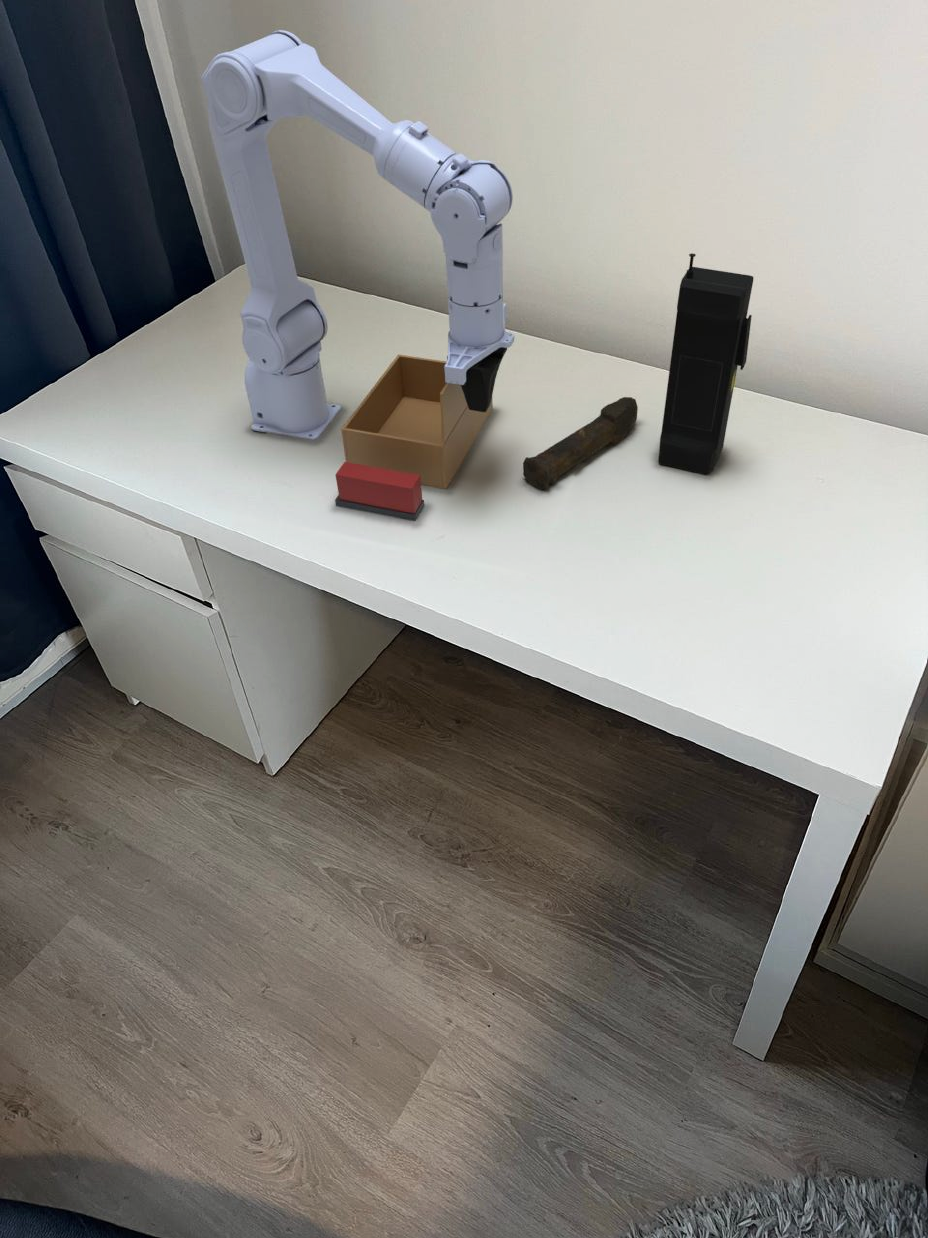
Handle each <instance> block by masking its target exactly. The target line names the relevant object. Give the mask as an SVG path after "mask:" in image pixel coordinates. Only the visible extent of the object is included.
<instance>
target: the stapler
mask: <svg viewBox="0 0 928 1238" xmlns="http://www.w3.org/2000/svg"><path fill="white" fill-rule="evenodd" d="M335 480H336V486H337V493H338V495H337V496H336V498H335V499H334V502H335V506H336V507H340V508H344V509H345V508H346V509H350V510H355V511H359V512H367V513H372V514H376V515H381V516H385V517H392V518H397V519H402V520H407V521H412V522H416V521H417V520H418V517H419V516H420V514H421V513H422V511H423V510H424V507H425V500H424V499H423V491H422V485H421V478H420V475H415V474H410V473H404V472H399V471H393V470H387V469H382V468H376V467H371V466H365V465H360V464H354V463H349V462H346V461H344V462H343V463H342V464H341V466H340V467H339V469H338V470H337V472H336V473H335Z"/></svg>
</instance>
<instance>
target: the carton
mask: <svg viewBox="0 0 928 1238" xmlns="http://www.w3.org/2000/svg"><path fill="white" fill-rule="evenodd" d="M446 363H447V360H439V359H431V358H427V357H426V358H425V357H419V356H411V355H405V354H397V355H396V356H395V358H394V359H393V361H392V362H391V363H390V365H389V366H388V367H387V368H386V370H385V371H384V372H383V373H382V374H381V376H380V377H379V379H378V380H377V382H375V384H374V385H373V387H372V388H371V389H370V391H369V392H368V393H367V394H366V396H365V397H364V398H363V400H362V401H361V403H360V404H359V405H358V406H357V407H356V409H355V410H354V412H353V413H352V414H351V415H350V417H349V418H348V419H347V420H346V422H345V423H344V424H343V426H342V427H341V428H340V432H341V436H342V437H341V438H342V445H343V450H344V451H343V452H344V457H345V462H349V463H354V464H360V465H365V466H371V467H376V468H382V469H387V470H393V471H399V472H404V473H410V474H415V475H420V478H421V486H425V487H431V488H436V489H442V490H447V488H449V485H450V484H451V482H452V480H453V478H454V477H455V475H456V473H457V472H458V470H459V468H460V466H461V465H462V464H463V461H464V460H465V458H466V456H467V455H468V453H469V451H470V450H471V447H472V446H473V444H474V443H475V442H476V441H475V440H476V439H477V437H478V435H479V434H480V433H481V430H482V429H483V427H484V425H485V424H486V422H487V420H488V418H489V416H490V415H491V413H492V411H493V410H494V409H493V408H494V407H493V406H494V405H493V398H492V399H491V403H490V406H489V408H488V409H487V411H486V412H479V411H473V410H469V408H468V405H467V406H466V408H465V409H464V411H463V413H462V414H461V416H460V417H459V419H458V421H457V422H456V424H455V425H454V427H453V429H452V430H451V432H450V433H449V435H448V437H447V438H446V440H445V441H442V435H441V407H440V393H441V391H442V390H443V388H444V387H445V385H446V384H447V383H446V382H445V364H446Z"/></svg>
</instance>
